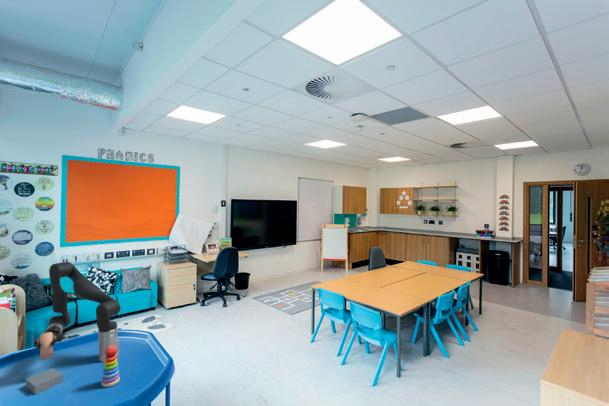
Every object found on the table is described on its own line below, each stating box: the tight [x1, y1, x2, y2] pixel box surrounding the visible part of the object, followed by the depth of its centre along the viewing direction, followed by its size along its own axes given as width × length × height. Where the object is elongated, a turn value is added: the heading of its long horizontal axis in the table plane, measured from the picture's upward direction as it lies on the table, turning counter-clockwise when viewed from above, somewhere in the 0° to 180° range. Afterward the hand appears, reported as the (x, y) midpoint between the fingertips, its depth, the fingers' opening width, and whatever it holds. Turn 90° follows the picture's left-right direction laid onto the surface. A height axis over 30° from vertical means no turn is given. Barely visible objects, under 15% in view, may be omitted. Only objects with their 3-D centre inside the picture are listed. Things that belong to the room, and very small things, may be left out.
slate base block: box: [25, 368, 64, 395], centre depth 152 cm, size 11×11×4 cm
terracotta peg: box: [39, 332, 54, 360], centre depth 157 cm, size 5×5×12 cm
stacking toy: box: [100, 346, 121, 388], centre depth 153 cm, size 8×8×19 cm
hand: (45, 345), depth 155 cm, fingers closed on terracotta peg, 5 cm apart
